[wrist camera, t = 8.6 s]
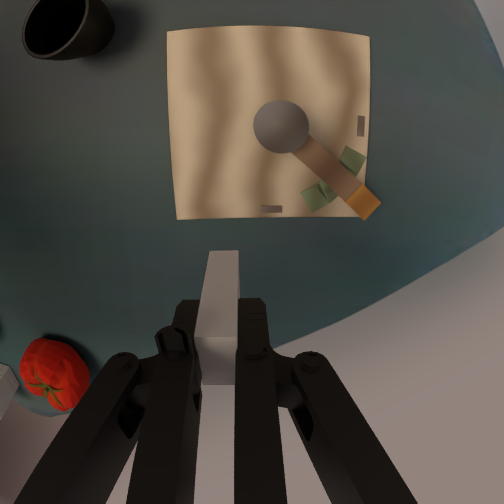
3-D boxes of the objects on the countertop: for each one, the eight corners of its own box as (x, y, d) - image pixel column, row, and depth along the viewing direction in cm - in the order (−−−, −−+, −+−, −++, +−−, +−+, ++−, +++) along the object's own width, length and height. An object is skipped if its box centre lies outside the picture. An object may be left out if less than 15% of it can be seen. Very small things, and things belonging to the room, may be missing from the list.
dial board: (178, 216, 36) (176, 220, 35) (169, 34, 26) (166, 31, 25) (357, 213, 37) (361, 217, 36) (365, 38, 27) (370, 36, 26)
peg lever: (242, 124, 30) (242, 130, 23) (269, 93, 29) (278, 89, 21) (343, 209, 35) (369, 240, 28) (368, 183, 34) (400, 207, 26)
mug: (111, -27, 21) (77, -54, 13) (132, 45, 27) (97, 29, 18) (56, 5, 22) (14, -10, 14) (74, 76, 27) (28, 74, 19)
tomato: (108, 366, 49) (91, 410, 40) (75, 383, 52) (59, 422, 43) (53, 316, 44) (26, 357, 34) (27, 341, 47) (4, 377, 37)
